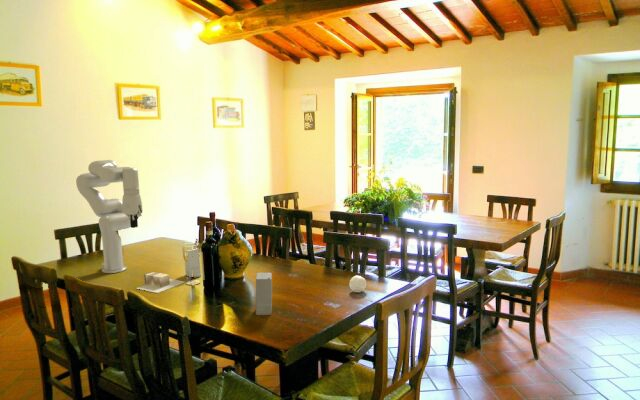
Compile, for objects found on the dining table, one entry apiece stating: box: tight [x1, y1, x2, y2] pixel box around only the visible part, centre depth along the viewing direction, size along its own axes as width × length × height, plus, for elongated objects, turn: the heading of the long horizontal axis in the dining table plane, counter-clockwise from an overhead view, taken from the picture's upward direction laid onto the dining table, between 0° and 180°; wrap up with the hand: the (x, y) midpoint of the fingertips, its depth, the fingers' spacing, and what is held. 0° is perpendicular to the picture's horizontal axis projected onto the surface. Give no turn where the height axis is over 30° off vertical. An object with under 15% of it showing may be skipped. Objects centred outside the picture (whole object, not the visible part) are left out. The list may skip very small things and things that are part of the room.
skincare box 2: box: [255, 272, 273, 316], centre depth 196 cm, size 8×7×16 cm
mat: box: [135, 278, 186, 294], centre depth 234 cm, size 15×18×1 cm
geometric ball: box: [348, 275, 367, 294], centre depth 218 cm, size 8×8×8 cm
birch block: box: [143, 271, 171, 287], centre depth 235 cm, size 5×5×12 cm
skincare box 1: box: [183, 247, 202, 278], centre depth 248 cm, size 8×6×15 cm
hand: (134, 227), depth 244 cm, fingers closed
